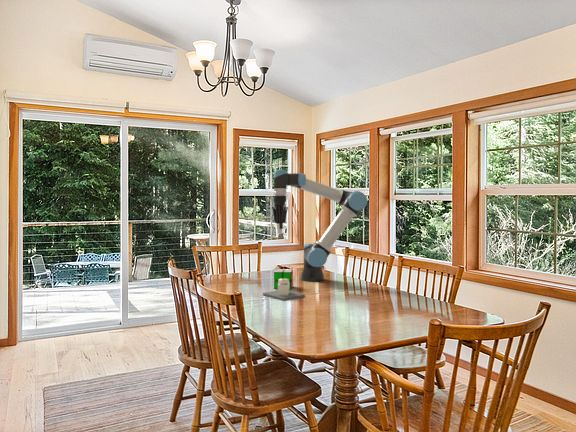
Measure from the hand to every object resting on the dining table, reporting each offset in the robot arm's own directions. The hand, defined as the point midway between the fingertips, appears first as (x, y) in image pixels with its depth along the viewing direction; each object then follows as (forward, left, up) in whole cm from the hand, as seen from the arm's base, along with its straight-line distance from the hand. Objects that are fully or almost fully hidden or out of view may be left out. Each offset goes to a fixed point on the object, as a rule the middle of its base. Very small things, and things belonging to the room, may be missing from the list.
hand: (279, 234), depth 279 cm
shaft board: (+21, +29, -30) cm, 47 cm away
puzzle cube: (+6, +11, -31) cm, 33 cm away
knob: (+21, +29, -29) cm, 46 cm away
